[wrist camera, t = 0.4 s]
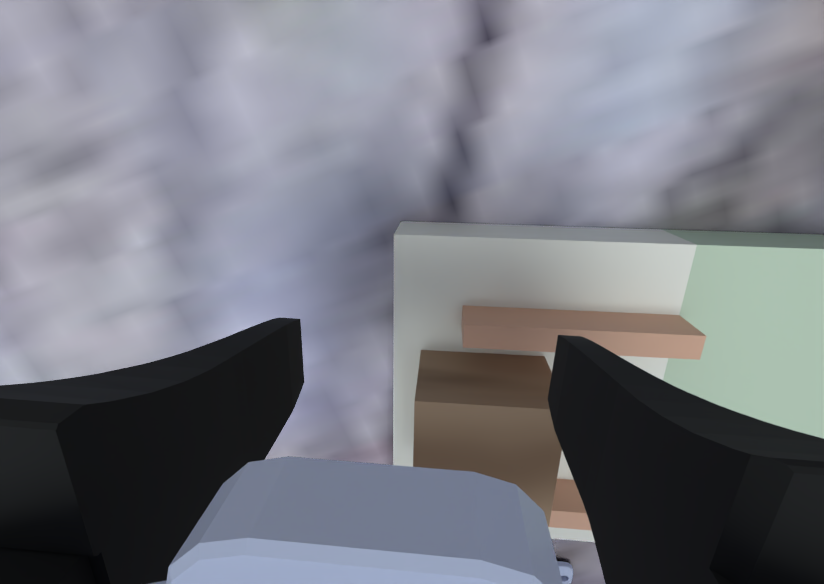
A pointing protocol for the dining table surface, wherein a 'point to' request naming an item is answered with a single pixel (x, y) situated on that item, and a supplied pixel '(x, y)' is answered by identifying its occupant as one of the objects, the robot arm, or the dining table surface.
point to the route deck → (618, 315)
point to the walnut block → (488, 419)
